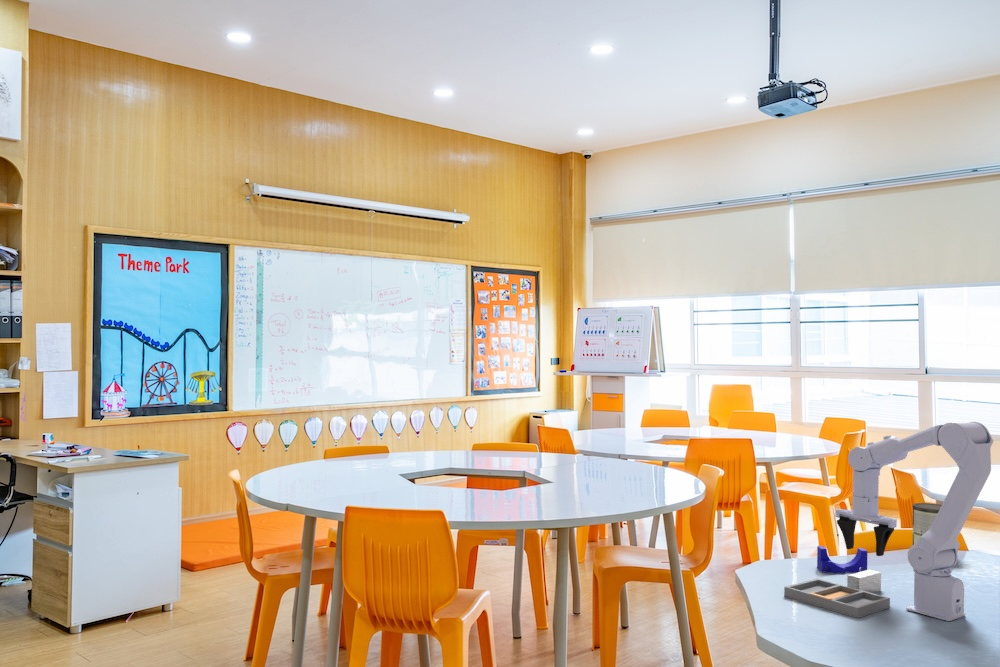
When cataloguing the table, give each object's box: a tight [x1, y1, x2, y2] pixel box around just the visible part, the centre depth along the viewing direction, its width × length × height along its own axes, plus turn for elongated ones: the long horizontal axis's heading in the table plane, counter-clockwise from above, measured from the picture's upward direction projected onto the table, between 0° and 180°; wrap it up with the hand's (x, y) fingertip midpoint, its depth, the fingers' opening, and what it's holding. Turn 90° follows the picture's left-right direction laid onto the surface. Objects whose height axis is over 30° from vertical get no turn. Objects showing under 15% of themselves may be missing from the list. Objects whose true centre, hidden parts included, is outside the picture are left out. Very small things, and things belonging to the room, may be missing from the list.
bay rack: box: [783, 578, 891, 619], centre depth 183 cm, size 18×14×2 cm
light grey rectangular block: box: [846, 569, 882, 594], centre depth 193 cm, size 3×10×4 cm, turn 126°
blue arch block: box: [816, 545, 868, 574], centre depth 211 cm, size 12×4×6 cm, turn 85°
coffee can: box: [912, 502, 942, 546], centre depth 233 cm, size 10×10×14 cm
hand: (864, 552), depth 193 cm, fingers open, 7 cm apart
